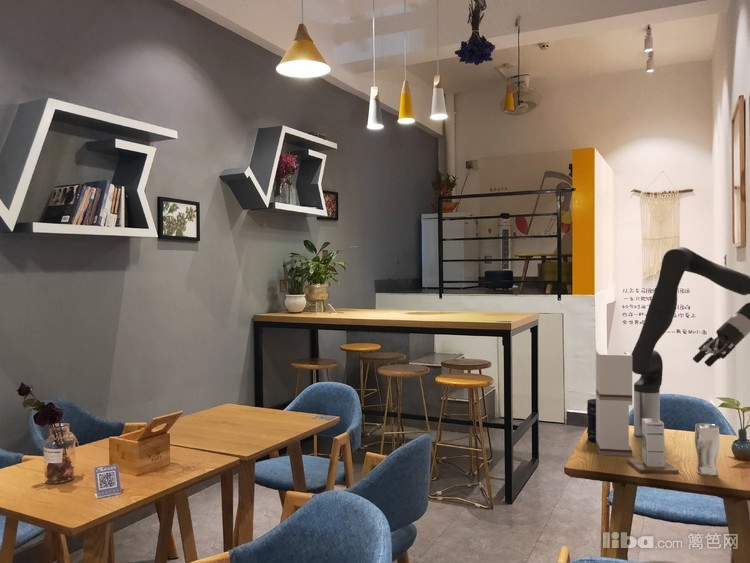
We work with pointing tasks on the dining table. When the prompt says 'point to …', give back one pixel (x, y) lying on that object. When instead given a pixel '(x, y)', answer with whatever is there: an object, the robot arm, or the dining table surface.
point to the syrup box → (653, 442)
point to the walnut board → (643, 468)
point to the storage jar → (591, 420)
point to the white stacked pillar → (613, 403)
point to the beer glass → (707, 448)
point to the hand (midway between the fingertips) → (700, 362)
